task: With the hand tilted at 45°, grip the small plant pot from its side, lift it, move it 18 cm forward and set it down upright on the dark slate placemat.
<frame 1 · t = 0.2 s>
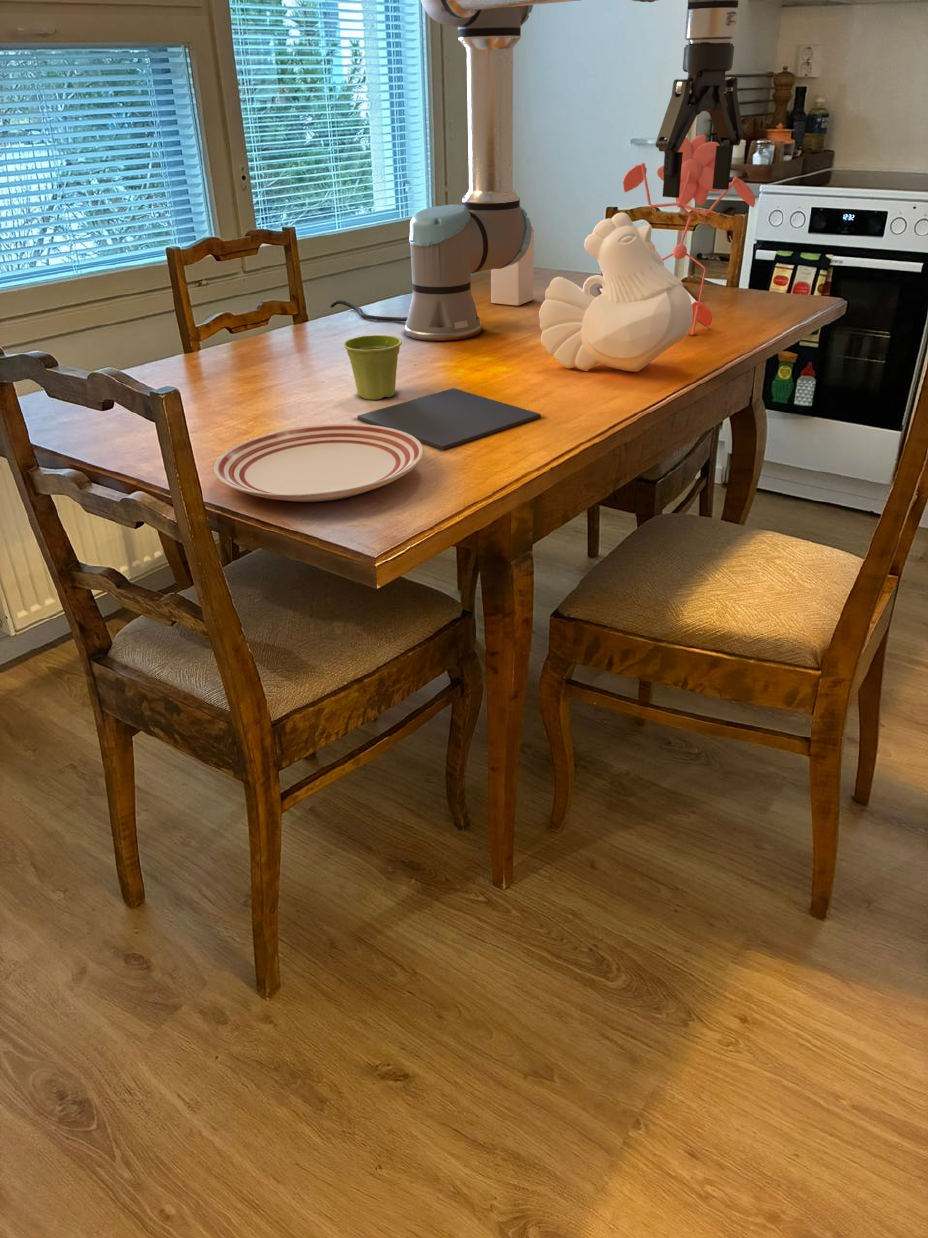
hand: (696, 193, 158), 28 cm above the table, tool pointing down, fingers open, 13 cm apart
decorative rooster: (612, 368, 170), on the table
dinner plate: (321, 478, 128), on the table
placemat: (448, 418, 148), on the table
plant pot: (376, 395, 159), on the table
teacup and saucer: (647, 296, 222), on the table
figurine: (679, 326, 196), on the table
milk carton: (512, 302, 219), on the table
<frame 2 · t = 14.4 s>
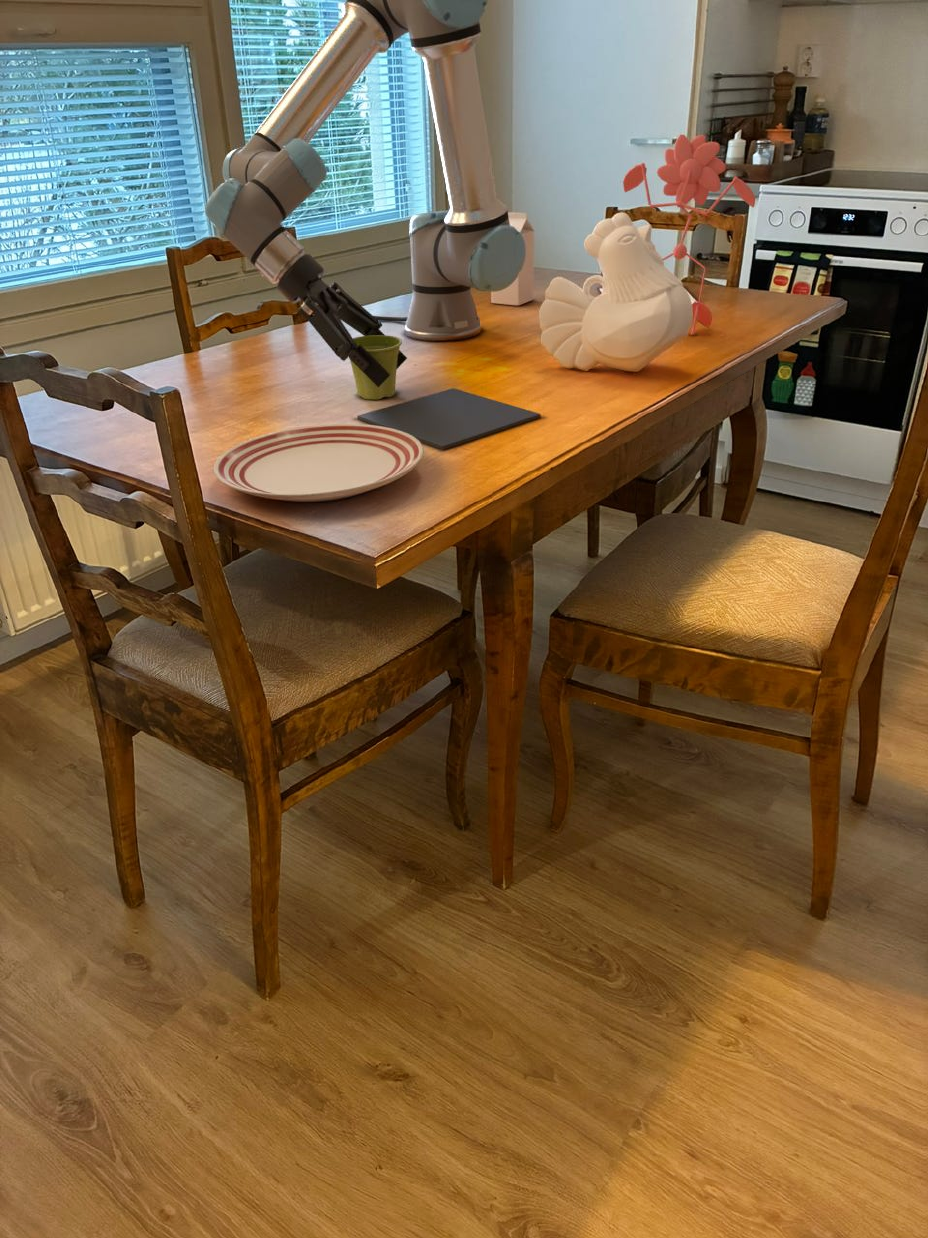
hand: (393, 372, 157), 4 cm above the table, tool tilted 45°, fingers closed on plant pot, 9 cm apart
plant pot: (376, 395, 159), on the table, touching gripper
everything else where it was.
when the fingers open (4 cm above the table, at t = 23.0 s): plant pot stays where it is, resting on placemat.
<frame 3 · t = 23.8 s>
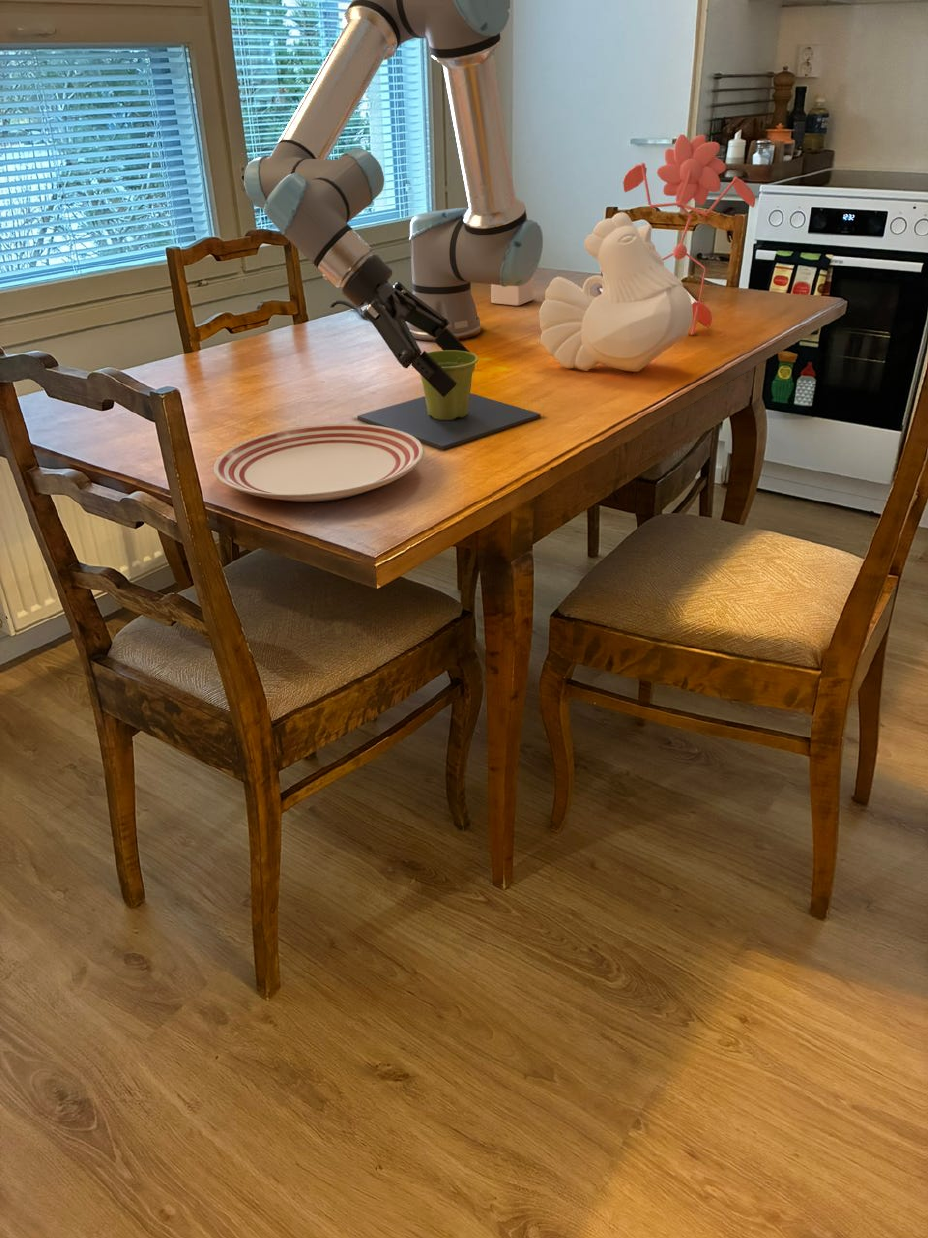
hand: (460, 377, 144), 6 cm above the table, tool tilted 45°, fingers open, 13 cm apart
plant pot: (448, 415, 147), resting on placemat
everything else where it was.
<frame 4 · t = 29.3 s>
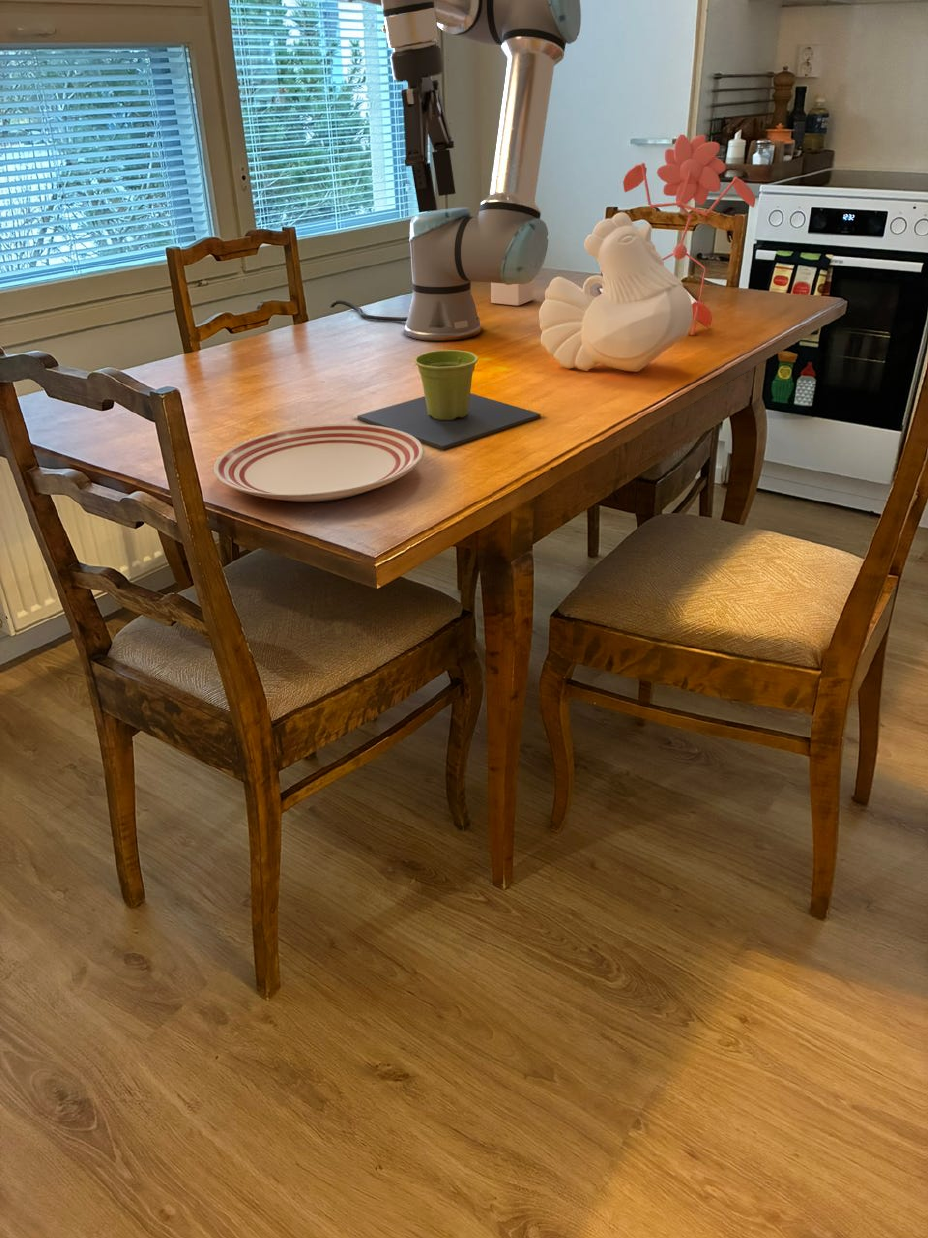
hand: (437, 202, 151), 28 cm above the table, tool pointing down, fingers open, 13 cm apart
nothing on the table moved.
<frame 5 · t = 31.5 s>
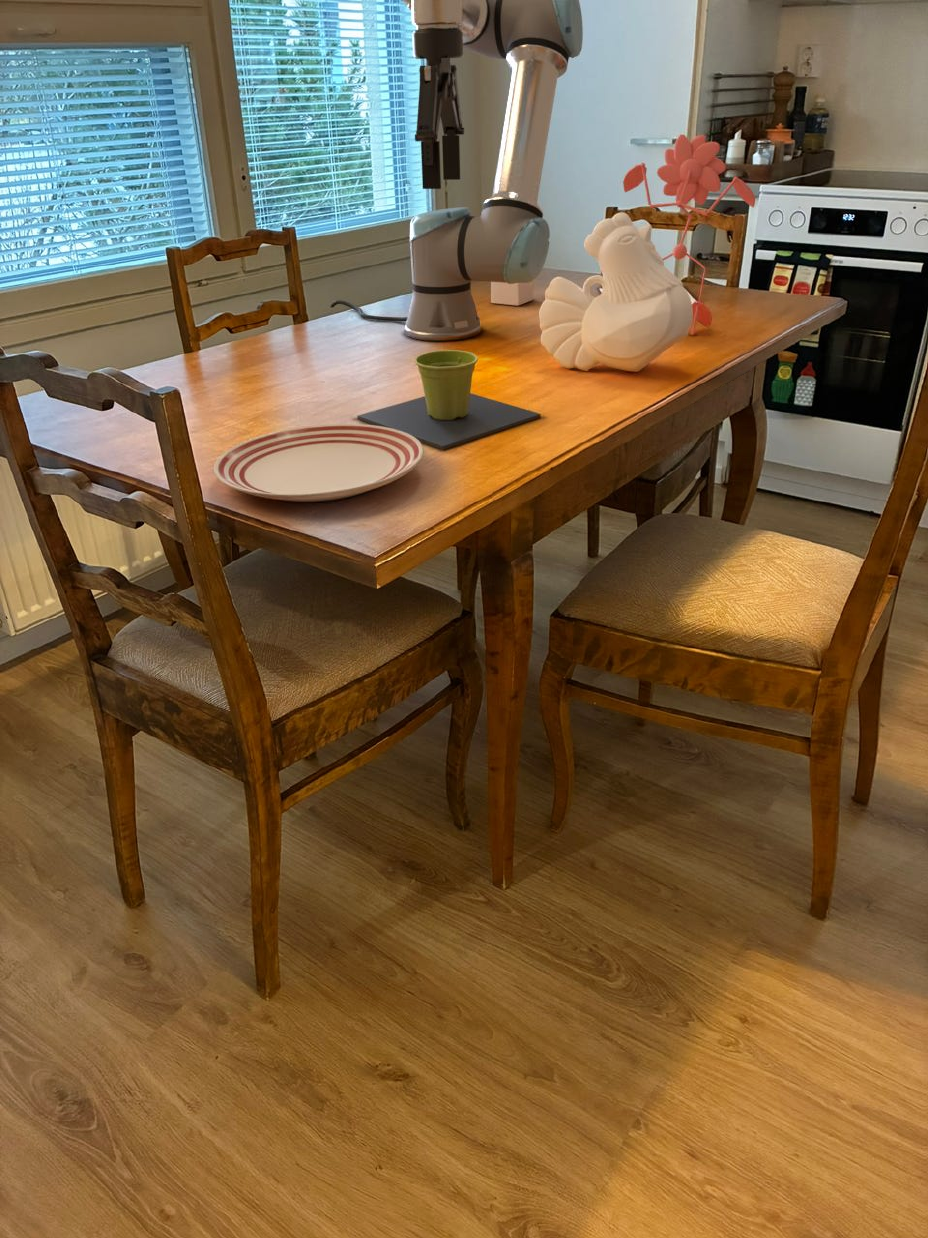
hand: (442, 183, 153), 31 cm above the table, tool pointing down, fingers open, 13 cm apart
nothing on the table moved.
at the end: plant pot inside the target area on the placemat (0.1 cm from its centre), point 0.4 cm above the placemat's base; plant pot moved 18.0 cm from its start; plant pot tilted 0° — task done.
